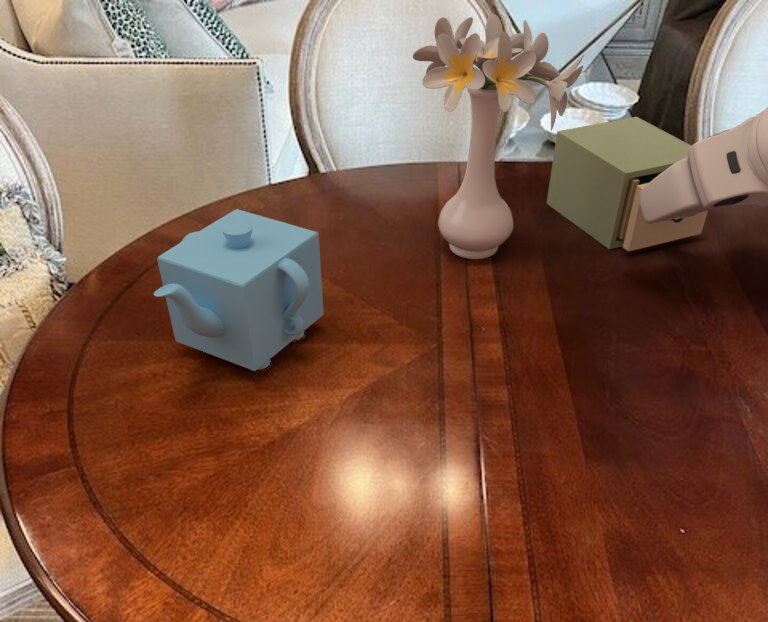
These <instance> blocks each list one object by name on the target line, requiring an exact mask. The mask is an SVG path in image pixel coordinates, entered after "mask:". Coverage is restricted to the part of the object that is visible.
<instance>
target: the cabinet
mask: <svg viewBox="0 0 768 622" xmlns="http://www.w3.org/2000/svg"><path fill="white" fill-rule="evenodd" d="M691 146H692V144H689V143H687V142H685V141H684V140H681V139H679V138H678V137H676V136H674V135H672V134H670V133H668V132H666V131H664V130H662V129H661V128H659V127H657V126H655V125H653V124H651V123H650V122H648V121H645V120H644V119H642V118H640V117H638V116H633V117H627V118H621V119H616V120H610V121H606V122H600V123H595V124H588V125H584V126H578V127H572V128H568V129H562V130H557V131H556V138H555V144H554V150H553V156H552V163H551V171H550V176H549V177H550V178H549V185H548V191H547V198H546V205H548V206H549V207H550V208H551V209H553V210H555V211H556V212H557V213H559V214H560V215H561V216H563V217H564V218H566V219H567V220H568V221H569V222H571V223H572V224H574V225H575V226H576V227H578V228H579V229H580V230H582V231H583V232H585V233H586V234H587V235H589V236H590V237H591V238H593V239H594V240H595V241H597V242H598V243H600V244H601V245H603V246H604V247H605V248H606V249H608V250H612V249H616V248H617V249H618V248H620V247H623V244H624V239H620V238H618V237H617V234H618V229H619V225H620V220H621V216H622V211H623V207H624V202H625V198H626V193H627V189H628V184H629V180H630V178H635V177H640V176H644V175H649V174H654V173H659V172H663V171H665V170H666V169H667V168H669V167H670V166H671V165H673V164H675V163H676V162H678V161H679V160H681V159H683V158H685V157H687V156H689V154H688V149H689V148H690V147H691Z"/></svg>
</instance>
